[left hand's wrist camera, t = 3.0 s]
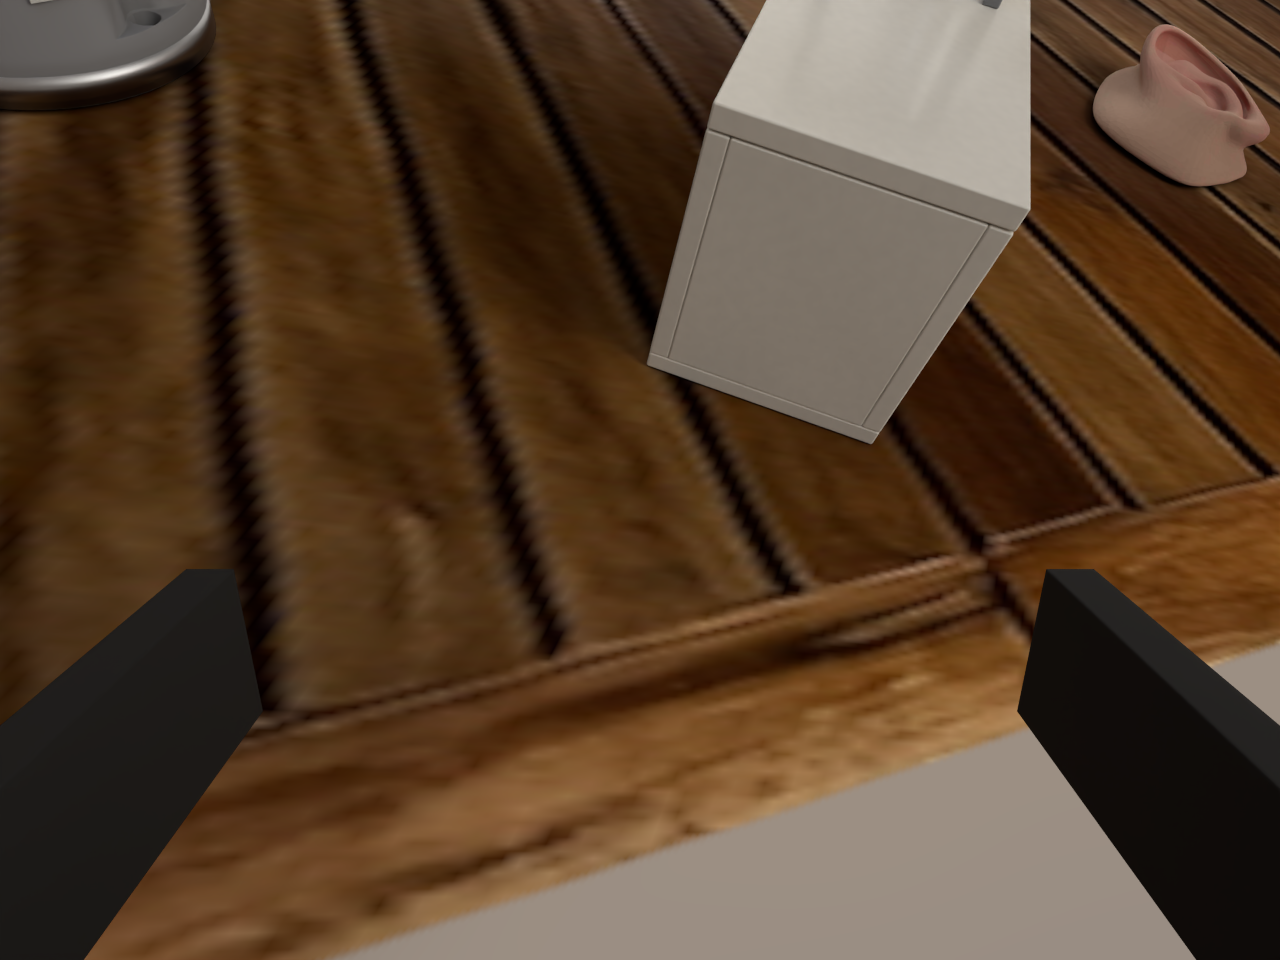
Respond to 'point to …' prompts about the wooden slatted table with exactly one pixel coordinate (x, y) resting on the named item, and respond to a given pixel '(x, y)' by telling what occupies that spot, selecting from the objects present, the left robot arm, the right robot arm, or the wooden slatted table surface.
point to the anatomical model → (1181, 111)
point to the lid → (893, 96)
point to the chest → (812, 286)
